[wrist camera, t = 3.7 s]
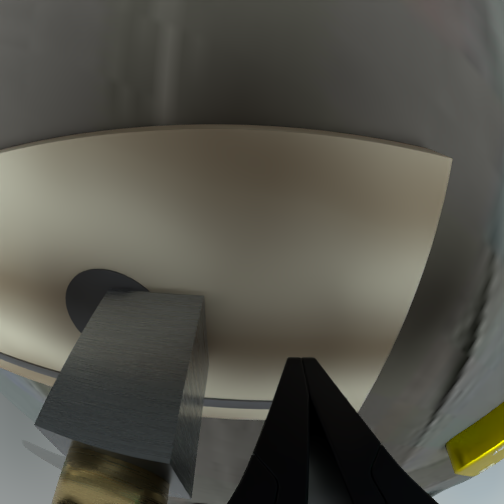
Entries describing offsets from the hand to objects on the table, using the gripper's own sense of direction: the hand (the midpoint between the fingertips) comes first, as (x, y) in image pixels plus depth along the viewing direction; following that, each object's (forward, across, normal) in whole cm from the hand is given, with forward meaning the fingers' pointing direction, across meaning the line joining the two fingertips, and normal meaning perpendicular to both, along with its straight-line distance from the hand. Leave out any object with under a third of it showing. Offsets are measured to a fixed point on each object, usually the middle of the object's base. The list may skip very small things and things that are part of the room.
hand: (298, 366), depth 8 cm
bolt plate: (+3, +9, 0) cm, 9 cm away
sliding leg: (+1, +4, 0) cm, 4 cm away
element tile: (+4, -29, +18) cm, 34 cm away
